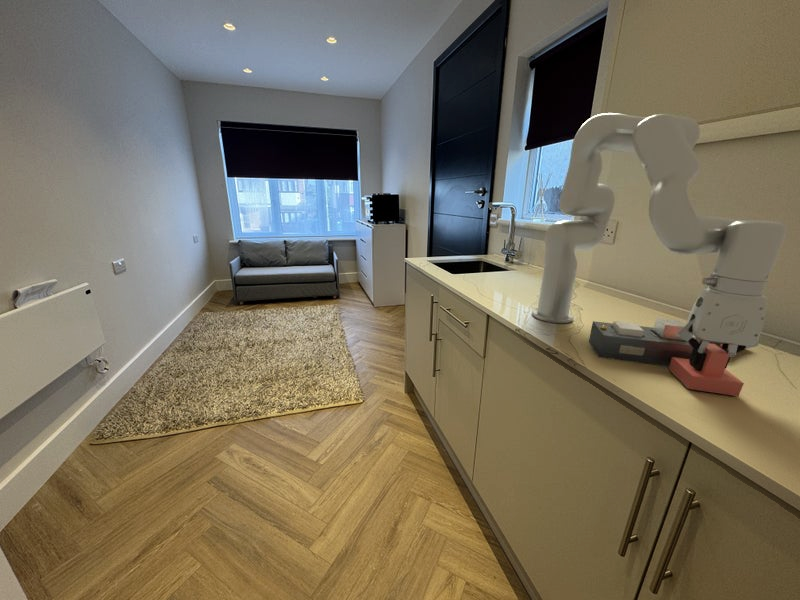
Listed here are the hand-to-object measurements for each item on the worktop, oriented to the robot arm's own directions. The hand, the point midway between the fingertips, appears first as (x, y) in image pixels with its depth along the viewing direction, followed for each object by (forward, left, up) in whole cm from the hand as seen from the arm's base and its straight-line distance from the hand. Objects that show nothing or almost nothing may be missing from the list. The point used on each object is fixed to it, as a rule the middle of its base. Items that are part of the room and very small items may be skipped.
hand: (705, 368), depth 67 cm
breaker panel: (-12, -7, -4) cm, 14 cm away
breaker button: (-12, -11, 0) cm, 16 cm away
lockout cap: (0, 0, -3) cm, 3 cm away
